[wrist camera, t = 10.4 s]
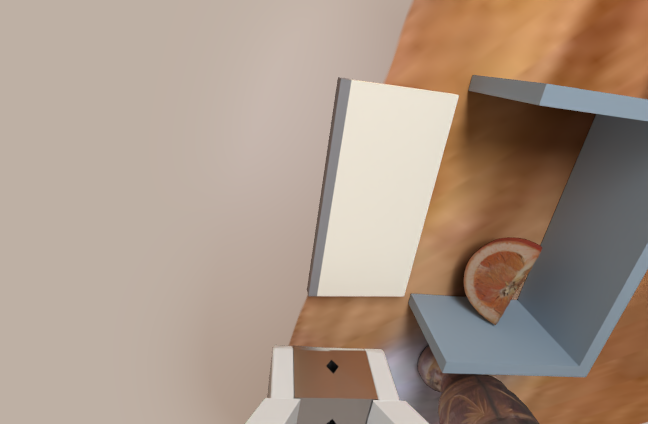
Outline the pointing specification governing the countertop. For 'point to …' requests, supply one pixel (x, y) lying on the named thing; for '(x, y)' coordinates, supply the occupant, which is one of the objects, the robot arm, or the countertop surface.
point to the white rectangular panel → (377, 186)
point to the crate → (561, 252)
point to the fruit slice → (498, 274)
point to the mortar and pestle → (472, 396)
